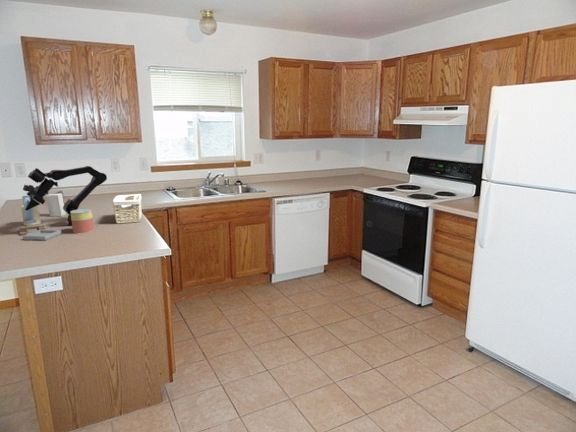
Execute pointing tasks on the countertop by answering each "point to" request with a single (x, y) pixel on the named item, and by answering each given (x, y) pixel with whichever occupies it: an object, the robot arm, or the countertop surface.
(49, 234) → the tray
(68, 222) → the robot arm
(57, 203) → the skincare box
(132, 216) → the storage basket
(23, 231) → the slot
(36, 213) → the can
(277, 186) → the countertop surface
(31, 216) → the tall blue pillar
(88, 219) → the canned food
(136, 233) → the countertop surface
